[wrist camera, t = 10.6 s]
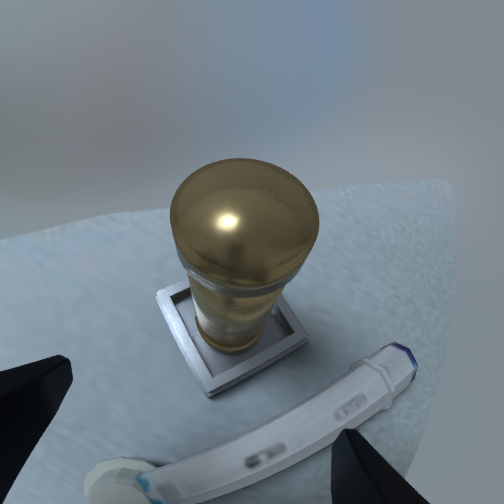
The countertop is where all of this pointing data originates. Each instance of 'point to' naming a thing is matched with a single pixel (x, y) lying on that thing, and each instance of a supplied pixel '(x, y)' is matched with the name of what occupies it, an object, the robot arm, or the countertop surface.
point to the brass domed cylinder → (240, 245)
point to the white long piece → (260, 440)
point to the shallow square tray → (218, 364)
